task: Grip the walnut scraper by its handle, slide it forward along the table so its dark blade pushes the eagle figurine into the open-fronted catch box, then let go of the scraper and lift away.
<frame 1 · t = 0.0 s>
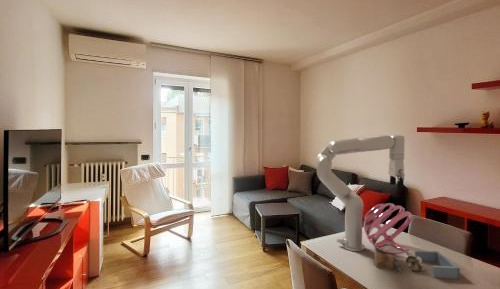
hand: (396, 186, 153), 37 cm above the table, tool pointing down, fingers open, 9 cm apart
eagle figurine: (412, 268, 132), on the table
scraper: (383, 266, 134), on the table
catch box: (434, 268, 131), on the table
spiral basket: (387, 248, 155), on the table
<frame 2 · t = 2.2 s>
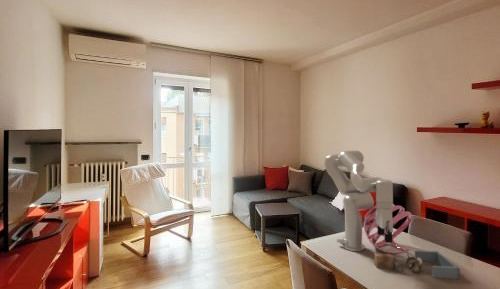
hand: (384, 238, 133), 15 cm above the table, tool pointing down, fingers open, 9 cm apart
eagle figurine: (413, 269, 131), on the table
everything else where it was.
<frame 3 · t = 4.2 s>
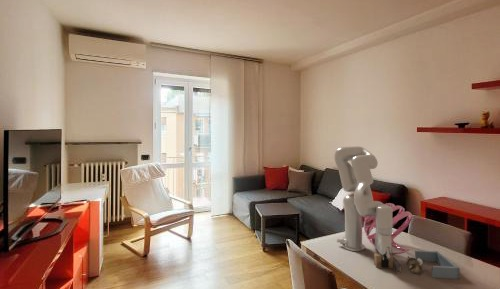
hand: (383, 265, 134), 1 cm above the table, tool pointing down, fingers closed on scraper, 3 cm apart
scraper: (383, 266, 134), on the table, touching gripper
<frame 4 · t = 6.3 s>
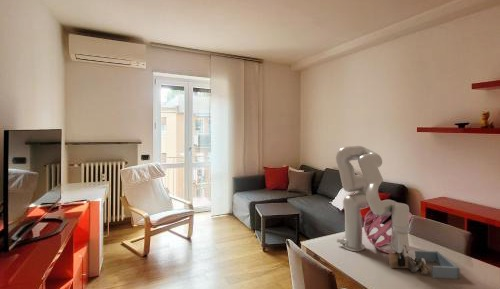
hand: (399, 263, 133), 2 cm above the table, tool pointing down, fingers closed on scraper, 3 cm apart
eagle figurine: (420, 271, 129), on the table
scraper: (398, 266, 133), on the table, touching gripper
everything else where it was.
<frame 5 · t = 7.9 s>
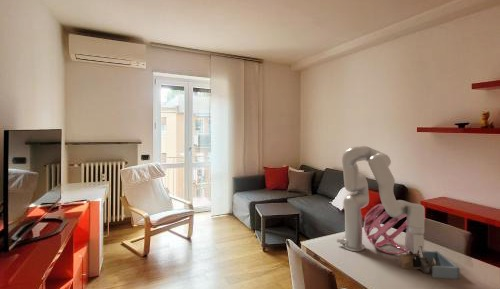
hand: (414, 264, 132), 2 cm above the table, tool pointing down, fingers closed on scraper, 3 cm apart
eagle figurine: (430, 270, 129), on the table
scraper: (410, 267, 133), on the table, touching gripper
everything else where it was.
when the fingers open (2 cm above the table, at t = 9.4 s): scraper stays where it is, on the table.
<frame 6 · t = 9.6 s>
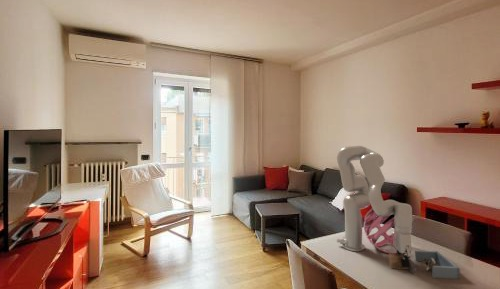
hand: (402, 263, 133), 2 cm above the table, tool pointing down, fingers open, 5 cm apart
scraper: (398, 267, 133), on the table
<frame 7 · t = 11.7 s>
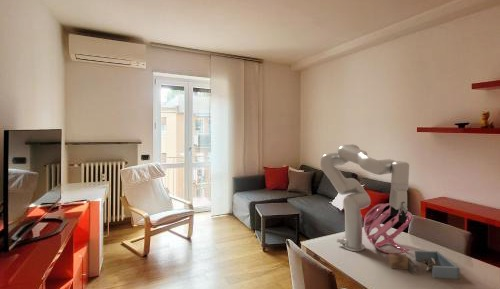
hand: (397, 219, 134), 24 cm above the table, tool pointing down, fingers open, 9 cm apart
eagle figurine: (431, 271, 129), on the table, touching catch box
everything else where it was.
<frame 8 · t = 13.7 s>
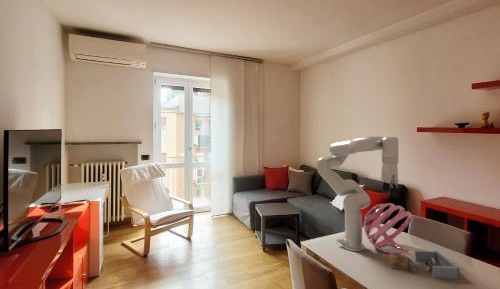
hand: (389, 193, 138), 36 cm above the table, tool pointing down, fingers open, 9 cm apart
eagle figurine: (431, 271, 129), on the table
everything else where it was.
at the end: eagle figurine inside the target area (4.6 cm from its centre), on the table; eagle figurine tilted 0° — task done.
